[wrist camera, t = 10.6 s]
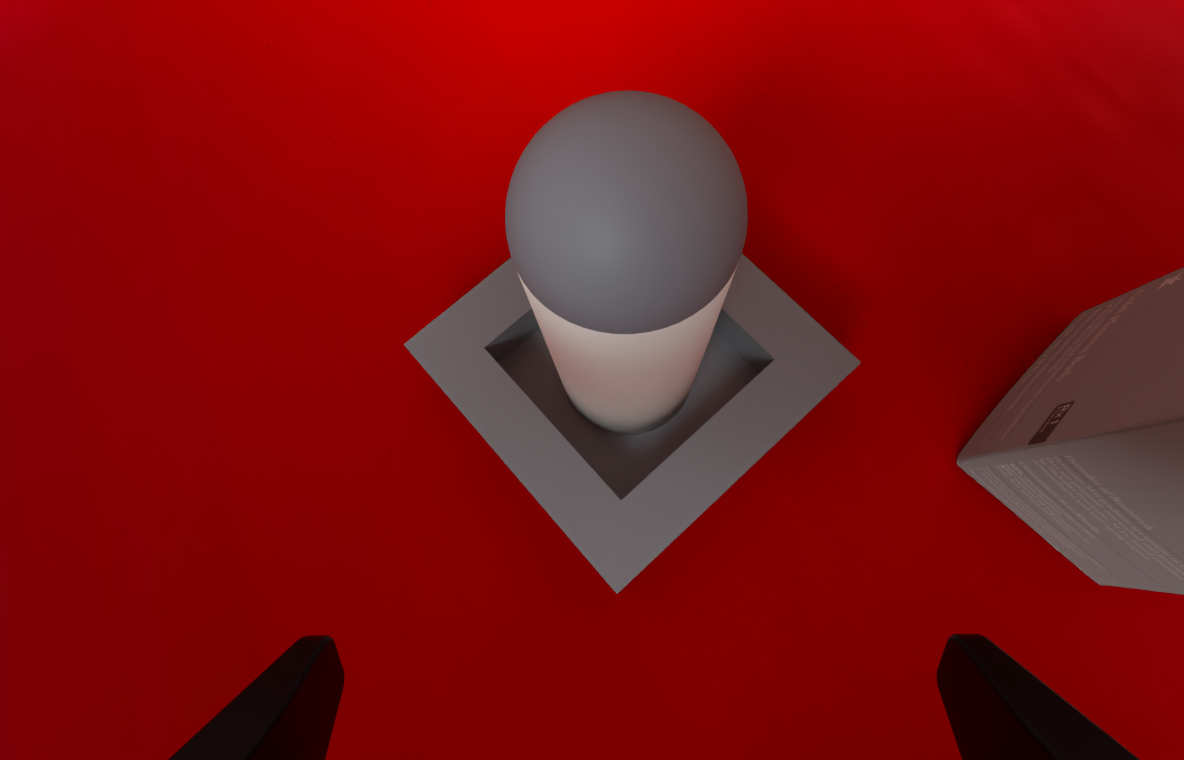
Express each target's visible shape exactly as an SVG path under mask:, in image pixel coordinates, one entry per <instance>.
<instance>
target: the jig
mask: <svg viewBox="0 0 1184 760" xmlns="http://www.w3.org/2000/svg"><path fill="white" fill-rule="evenodd" d="M404 346H405V347H406V348H407V349H408V350H409V351H410V353H411V354H412V355H413V356H414V357H415V358H416V360H417V361H418V362H419V363H420V364H421V365H422V367H423V368H424V369H425V370H426V371H427V372H428V374H429V375H430V376H431V377H432V378H433V379H434V381H435V382H436V383H437V384H438V385H439V386H440V388H441V389H442V390H443V391H444V392H445V393H446V395H447V396H448V397H449V398H450V399H451V400H452V402H453V403H454V404H455V405H456V406H457V407H458V409H459V410H460V411H461V412H462V413H463V414H464V416H465V417H466V418H467V419H468V420H469V422H470V423H471V424H472V425H473V426H474V427H475V429H476V430H477V431H478V432H479V433H480V434H481V436H482V437H483V438H484V439H485V440H486V441H487V443H488V444H489V445H490V446H491V447H492V448H493V450H494V451H495V452H496V453H497V454H498V455H499V457H500V458H501V459H502V460H503V461H504V462H505V464H506V465H507V466H508V467H509V468H510V469H511V471H512V472H513V473H514V474H515V475H516V476H517V478H518V479H519V480H520V481H521V482H522V483H523V485H524V486H525V487H526V488H527V489H528V490H529V492H530V493H531V494H532V495H533V496H534V497H535V499H536V500H537V501H538V502H539V503H540V505H541V506H542V507H543V508H544V509H545V510H546V512H547V513H548V514H549V515H550V516H551V517H552V519H553V520H554V521H555V522H556V523H557V524H558V526H559V527H560V528H561V529H562V530H563V531H564V533H565V534H566V535H567V536H568V537H569V538H570V540H571V541H572V542H573V543H574V544H575V545H576V547H577V548H578V549H579V550H580V551H581V552H582V554H583V555H584V556H585V557H586V558H587V559H588V561H589V562H590V563H591V564H592V565H593V566H594V568H595V569H596V570H597V571H598V572H599V573H600V575H601V576H602V577H603V578H604V579H605V581H606V582H607V583H608V584H609V585H610V586H611V588H612V589H613V590H614V591H615V592H616V593H617V594H618V593H619V592H620V591H621V590H622V589H623V588H624V587H625V586H626V585H627V584H628V583H629V582H630V581H631V580H632V579H633V578H634V577H636V576H637V575H638V574H639V573H640V572H641V571H642V570H643V569H644V568H645V567H646V566H647V565H648V564H649V563H650V562H651V561H652V560H653V559H655V558H656V557H657V556H658V555H659V554H660V553H661V552H662V551H663V550H664V549H665V548H666V547H667V546H668V545H669V544H670V543H671V542H672V541H673V540H675V539H676V538H677V537H678V536H679V535H680V534H681V533H682V532H683V531H684V530H685V529H686V528H687V527H688V526H689V525H690V524H691V523H692V522H694V521H695V520H696V519H697V518H698V517H699V516H700V515H701V514H702V513H703V512H704V511H705V510H706V509H707V508H708V507H709V506H710V505H711V504H713V503H714V502H715V501H716V500H717V499H718V498H719V497H720V496H721V495H722V494H723V493H724V492H725V491H726V490H727V489H728V488H729V487H730V486H731V485H733V484H734V483H735V482H736V481H737V480H738V479H739V478H740V477H741V476H742V475H743V474H744V473H745V472H746V471H747V470H748V469H749V468H750V467H752V466H753V465H754V464H755V463H756V462H757V461H758V460H759V459H760V458H761V457H762V456H763V455H764V454H765V453H766V452H767V451H768V450H769V449H771V448H772V447H773V446H774V445H775V444H776V443H777V442H778V441H779V440H780V439H781V438H782V437H783V436H784V435H785V434H786V433H787V432H788V431H789V430H791V429H792V428H793V427H794V426H795V425H796V424H797V423H798V422H799V421H800V420H801V419H802V418H803V417H804V416H805V415H806V414H807V413H808V412H810V411H811V410H812V409H813V408H814V407H815V406H816V405H817V404H818V403H819V402H820V401H821V400H822V399H823V398H824V397H825V396H826V395H827V394H829V393H830V392H831V391H832V390H833V389H834V388H835V387H836V386H837V385H838V384H839V383H840V382H841V381H842V380H843V379H844V378H845V377H846V376H847V375H849V374H850V373H851V372H852V371H853V370H854V369H855V368H856V367H857V366H858V365H859V364H860V363H861V362H860V361H859V360H858V359H857V358H856V357H855V356H854V355H852V354H851V353H850V352H849V351H848V350H847V349H846V348H845V347H844V346H843V345H842V344H840V343H839V342H838V341H837V340H836V339H835V338H834V337H833V336H832V335H831V334H830V333H828V332H827V331H826V330H825V329H824V328H823V327H822V326H821V325H820V324H819V323H818V322H816V321H815V320H814V319H813V318H812V317H811V316H810V315H809V314H808V313H807V312H805V311H804V310H803V309H802V308H801V307H800V306H799V305H798V304H797V303H796V302H795V301H793V300H792V299H791V298H790V297H789V296H788V295H787V294H786V293H785V292H784V291H783V290H781V289H780V288H779V287H778V286H777V285H776V284H775V283H774V282H773V281H772V280H770V279H769V278H768V277H767V276H766V275H765V274H764V273H763V272H762V271H761V270H760V269H758V268H757V267H756V266H755V265H754V264H753V263H752V262H751V261H750V260H749V259H748V258H746V257H745V256H744V255H743V254H741V258H740V260H739V263H738V266H737V268H736V271H735V273H734V276H733V279H732V281H731V284H730V287H729V289H728V292H727V295H726V297H725V300H724V303H723V305H722V308H721V311H720V313H719V316H718V319H717V321H716V324H715V327H714V329H713V332H712V334H711V337H710V340H709V342H708V345H707V348H706V350H705V353H704V356H703V358H702V361H701V364H700V366H699V369H698V372H697V374H696V377H695V380H694V382H693V385H692V387H691V390H690V393H689V395H688V398H687V400H686V402H685V403H684V405H683V407H682V408H681V409H680V411H679V412H678V413H677V414H676V415H675V416H674V417H673V418H672V419H671V420H670V421H668V422H667V423H666V424H664V425H663V426H661V427H659V428H657V429H655V430H653V431H650V432H647V433H643V434H638V435H618V434H612V433H609V432H605V431H603V430H601V429H598V428H596V427H595V426H593V425H591V424H590V423H588V422H587V421H586V420H585V419H583V418H582V417H581V416H580V415H579V414H578V412H577V411H576V410H575V408H574V407H573V406H572V404H571V402H570V400H569V398H568V396H567V393H566V391H565V389H564V386H563V384H562V381H561V379H560V376H559V374H558V371H557V369H556V366H555V364H554V361H553V359H552V357H551V354H550V352H549V349H548V347H547V344H546V342H545V339H544V337H543V334H542V332H541V329H540V327H539V324H538V322H537V320H536V317H535V315H534V312H533V310H532V307H531V305H530V302H529V300H528V297H527V295H526V292H525V290H524V287H523V285H522V283H521V280H520V278H519V275H518V273H517V270H516V268H515V265H514V262H513V260H512V257H511V258H510V259H509V260H508V261H506V262H505V263H504V264H503V265H501V266H500V267H499V268H498V269H496V270H495V271H494V272H493V273H491V274H490V275H489V276H488V277H487V278H485V279H484V280H483V281H482V282H480V283H479V284H478V285H477V286H475V287H474V288H473V289H472V290H470V291H469V292H468V293H467V294H465V295H464V296H463V297H462V298H461V299H459V300H458V301H457V302H456V303H454V304H453V305H452V306H451V307H449V308H448V309H447V310H446V311H444V312H443V313H442V314H441V315H440V316H438V317H437V318H436V319H435V320H433V321H432V322H431V323H430V324H428V325H427V326H426V327H425V328H423V329H422V330H421V331H420V332H419V333H417V334H416V335H415V336H414V337H412V338H411V339H410V340H409V341H407V342H406V343H405V344H404Z"/></svg>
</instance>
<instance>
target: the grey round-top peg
mask: <svg viewBox="0 0 1184 760" xmlns="http://www.w3.org/2000/svg"><path fill="white" fill-rule="evenodd" d="M505 224H506V236H507V241H508V245H509V249H510V253H511V257H512V260H513V262H514V265H515V268H516V270H517V273H518V275H519V278H520V280H521V283H522V285H523V287H524V290H525V292H526V295H527V297H528V300H529V302H530V305H531V307H532V310H533V312H534V315H535V317H536V320H537V322H538V324H539V327H540V329H541V332H542V334H543V337H544V339H545V342H546V344H547V347H548V349H549V352H550V354H551V357H552V359H553V361H554V364H555V366H556V369H557V371H558V374H559V376H560V379H561V381H562V384H563V386H564V389H565V391H566V393H567V396H568V398H569V400H570V402H571V404H572V406H573V407H574V408H575V410H576V411H577V412H578V414H579V415H580V416H581V417H582V418H583V419H585V420H586V421H587V422H588V423H590V424H591V425H593V426H595V427H596V428H598V429H601V430H603V431H605V432H609V433H612V434H618V435H638V434H643V433H647V432H650V431H653V430H655V429H657V428H659V427H661V426H663V425H664V424H666V423H667V422H668V421H670V420H671V419H672V418H673V417H674V416H675V415H676V414H677V413H678V412H679V411H680V409H681V408H682V407H683V405H684V403H685V402H686V400H687V398H688V395H689V393H690V390H691V387H692V385H693V382H694V380H695V377H696V374H697V372H698V369H699V366H700V364H701V361H702V358H703V356H704V353H705V350H706V348H707V345H708V342H709V340H710V337H711V334H712V332H713V329H714V327H715V324H716V321H717V319H718V316H719V313H720V311H721V308H722V305H723V303H724V300H725V297H726V295H727V292H728V289H729V287H730V284H731V281H732V279H733V276H734V273H735V271H736V268H737V266H738V263H739V260H740V258H741V254H742V250H743V247H744V243H745V238H746V233H747V224H748V210H747V195H746V190H745V185H744V181H743V178H742V175H741V172H740V169H739V166H738V163H737V161H736V159H735V157H734V155H733V153H732V151H731V150H730V148H729V147H728V145H727V144H726V142H725V141H724V140H723V138H722V137H721V135H720V134H719V133H718V132H717V131H716V129H715V128H714V127H713V126H712V125H711V124H710V123H709V122H708V121H706V120H705V119H704V118H703V117H701V116H700V115H699V114H698V113H696V112H695V111H693V110H692V109H690V108H688V107H687V106H685V105H684V104H682V103H679V102H677V101H675V100H673V99H671V98H668V97H665V96H662V95H658V94H654V93H649V92H642V91H615V92H607V93H603V94H599V95H594V96H591V97H589V98H586V99H583V100H581V101H579V102H577V103H575V104H573V105H571V106H569V107H567V108H566V109H564V110H563V111H561V112H560V113H558V114H557V115H556V116H554V117H553V118H552V119H551V120H550V121H548V122H547V123H546V124H545V125H544V126H543V127H542V128H541V129H540V130H539V131H538V132H537V133H536V134H535V135H534V137H533V138H532V139H531V141H530V142H529V144H528V145H527V146H526V148H525V150H524V151H523V153H522V155H521V157H520V159H519V161H518V162H517V164H516V167H515V170H514V172H513V175H512V178H511V181H510V185H509V189H508V194H507V199H506V212H505Z"/></svg>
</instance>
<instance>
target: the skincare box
mask: <svg viewBox="0 0 1184 760" xmlns="http://www.w3.org/2000/svg"><path fill="white" fill-rule="evenodd" d="M956 463H957V464H958V466H959V467H960V468H962V469H963V470H964V471H965V472H966V473H967V474H969V475H970V476H971V477H972V478H974V479H975V480H976V481H977V482H978V483H979V484H981V485H982V486H983V487H984V488H986V489H987V490H988V491H989V492H990V493H991V494H993V495H994V496H995V497H996V498H997V499H999V500H1000V501H1001V502H1002V503H1003V504H1005V505H1006V506H1007V507H1008V508H1009V509H1010V510H1012V511H1013V512H1014V513H1015V514H1016V515H1017V516H1019V517H1020V518H1021V519H1022V520H1023V521H1024V522H1026V523H1027V524H1028V525H1029V526H1030V527H1031V528H1033V529H1034V530H1035V531H1036V532H1037V533H1038V534H1039V535H1041V536H1042V537H1043V538H1044V539H1045V540H1046V541H1048V542H1049V543H1050V544H1051V545H1052V546H1053V547H1054V548H1055V549H1057V550H1058V551H1059V552H1061V553H1062V554H1063V555H1064V556H1065V557H1066V558H1067V559H1069V560H1070V561H1071V562H1072V563H1073V564H1075V565H1076V566H1077V567H1078V568H1079V569H1081V570H1082V571H1083V572H1084V573H1085V574H1086V575H1088V576H1089V577H1090V578H1091V579H1093V580H1094V581H1095V582H1097V583H1098V584H1100V585H1102V586H1103V585H1109V586H1117V587H1125V588H1136V589H1142V590H1149V591H1158V592H1166V593H1174V594H1182V595H1184V267H1183V268H1181V269H1178V270H1176V271H1174V272H1172V273H1169V274H1167V275H1165V276H1162V277H1160V278H1158V279H1156V280H1154V281H1151V282H1149V283H1147V284H1145V285H1142V286H1140V287H1138V288H1136V289H1134V290H1131V291H1129V292H1127V293H1125V294H1122V295H1120V296H1118V297H1116V298H1113V299H1111V300H1109V301H1106V302H1104V303H1102V304H1099V305H1097V306H1095V307H1092V308H1090V309H1088V310H1085V311H1083V312H1082V313H1080V314H1079V315H1078V316H1077V317H1075V319H1074V320H1073V321H1072V322H1071V324H1070V325H1069V326H1068V327H1067V328H1066V329H1065V330H1064V331H1063V332H1062V333H1061V334H1060V335H1059V336H1058V337H1057V338H1056V339H1055V340H1054V341H1053V342H1052V344H1051V345H1050V346H1049V347H1048V348H1047V349H1046V350H1045V351H1044V352H1043V353H1042V354H1041V356H1040V357H1039V358H1038V359H1037V360H1036V361H1035V362H1034V363H1033V364H1032V365H1031V367H1030V368H1029V369H1028V370H1027V371H1026V372H1025V373H1024V374H1023V376H1022V377H1021V378H1020V379H1019V380H1018V381H1017V382H1016V384H1015V385H1014V386H1013V387H1012V388H1011V389H1010V391H1009V392H1008V393H1007V394H1006V395H1005V396H1004V398H1003V399H1002V400H1001V401H1000V402H999V404H998V405H997V406H996V407H995V408H994V410H993V411H992V412H991V413H990V415H989V416H988V417H987V418H986V420H985V421H984V422H983V423H982V425H981V426H980V427H979V429H978V430H977V431H976V432H975V434H974V435H973V436H972V438H971V439H970V440H969V441H968V443H967V444H966V445H965V447H964V448H963V449H962V451H961V452H960V453H959V455H958V459H957V462H956Z"/></svg>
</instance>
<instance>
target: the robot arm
mask: <svg viewBox="0 0 1184 760" xmlns="http://www.w3.org/2000/svg"><path fill="white" fill-rule="evenodd" d="M937 684H938V688H939V692H940V695H941V698H942V700H943V703H944V706H945V709H946V712H947V715H948V718H949V721H950V724H951V727H952V730H953V733H954V736H955V739H956V742H957V745H958V748H959V751H960V754H961V757H962V760H1140V759H1138V758H1137V757H1136V756H1135V755H1133V754H1132V753H1131V752H1129V751H1128V750H1127V749H1126V748H1124V747H1123V746H1122V745H1121V744H1119V743H1118V742H1117V741H1116V740H1114V739H1113V738H1112V737H1111V736H1109V735H1108V734H1107V733H1106V732H1104V731H1103V730H1102V729H1101V728H1099V727H1098V726H1097V725H1096V724H1094V723H1093V722H1092V721H1091V720H1089V719H1088V718H1087V717H1086V716H1084V715H1083V714H1082V713H1081V712H1079V711H1078V710H1077V709H1076V708H1074V707H1073V706H1072V705H1071V704H1069V703H1068V702H1067V701H1066V700H1064V699H1063V698H1062V697H1061V696H1059V695H1058V694H1057V693H1056V692H1054V691H1053V690H1052V689H1051V688H1049V687H1048V686H1047V685H1046V684H1044V683H1043V682H1042V681H1041V680H1039V679H1038V678H1037V677H1036V676H1034V675H1033V674H1032V673H1030V672H1029V671H1028V670H1027V669H1025V668H1024V667H1023V666H1022V665H1020V664H1019V663H1018V662H1017V661H1015V660H1014V659H1013V658H1012V657H1010V656H1009V655H1008V654H1007V653H1005V652H1004V651H1003V650H1002V649H1000V648H999V647H998V646H997V645H995V644H994V643H993V642H992V641H990V640H989V639H988V638H986V637H984V636H982V635H980V634H953V635H952V636H950V637H949V638H948V640H947V643H946V646H945V649H944V652H943V655H942V658H941V660H940V663H939V666H938V669H937ZM343 686H344V670H343V667H342V664H341V661H340V658H339V655H338V651H337V648H336V645H335V642H334V640H333V639H332V638H331V637H330V636H327V635H309V636H304V637H302V638H300V639H299V640H297V641H296V642H295V643H294V644H293V645H292V646H291V647H290V648H289V649H287V650H286V651H285V652H284V653H283V654H282V655H281V656H280V657H279V658H278V659H277V660H276V661H274V662H273V663H272V664H271V665H270V666H269V667H268V668H267V669H266V670H265V671H264V672H263V673H261V674H260V675H259V676H258V677H257V678H256V679H255V680H254V681H253V682H252V683H251V684H250V685H248V686H247V687H246V688H245V689H244V690H243V691H242V692H241V693H240V694H239V695H238V696H237V697H235V698H234V699H233V700H232V701H231V702H230V703H229V704H228V705H227V706H226V707H225V708H224V709H222V710H221V711H220V712H219V713H218V714H217V715H216V716H215V717H214V718H213V719H212V720H211V721H209V722H208V723H207V724H206V725H205V726H204V727H203V728H202V729H201V730H200V731H199V732H198V733H196V734H195V735H194V736H193V737H192V738H191V739H190V740H189V741H188V742H187V743H186V744H185V745H183V746H182V747H181V748H180V749H179V750H178V751H177V752H176V753H175V754H174V755H173V756H172V757H170V758H169V759H168V760H325V757H326V753H327V750H328V746H329V742H330V738H331V734H332V730H333V726H334V722H335V718H336V714H337V710H338V707H339V703H340V699H341V695H342V691H343Z"/></svg>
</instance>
